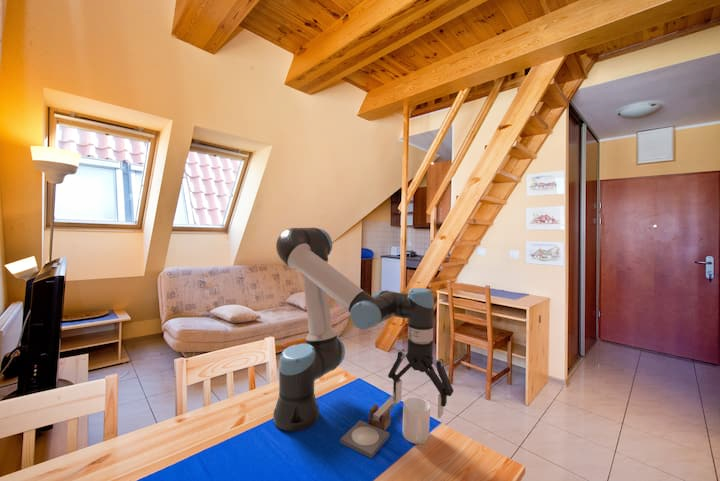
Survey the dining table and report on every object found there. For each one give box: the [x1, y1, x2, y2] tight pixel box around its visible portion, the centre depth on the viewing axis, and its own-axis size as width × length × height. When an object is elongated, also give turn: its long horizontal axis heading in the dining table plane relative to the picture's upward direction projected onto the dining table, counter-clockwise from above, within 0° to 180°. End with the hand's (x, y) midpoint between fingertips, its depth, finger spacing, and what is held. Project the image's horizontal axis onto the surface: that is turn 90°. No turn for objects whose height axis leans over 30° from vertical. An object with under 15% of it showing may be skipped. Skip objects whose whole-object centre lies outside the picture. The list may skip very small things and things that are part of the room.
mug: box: [402, 396, 431, 445], centre depth 97 cm, size 12×8×10 cm
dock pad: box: [339, 419, 390, 459], centre depth 96 cm, size 11×11×1 cm
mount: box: [368, 403, 391, 431], centre depth 104 cm, size 6×4×5 cm, turn 57°
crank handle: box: [373, 377, 401, 422], centre depth 108 cm, size 2×16×8 cm, turn 147°
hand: (418, 408), depth 96 cm, fingers open, 13 cm apart
